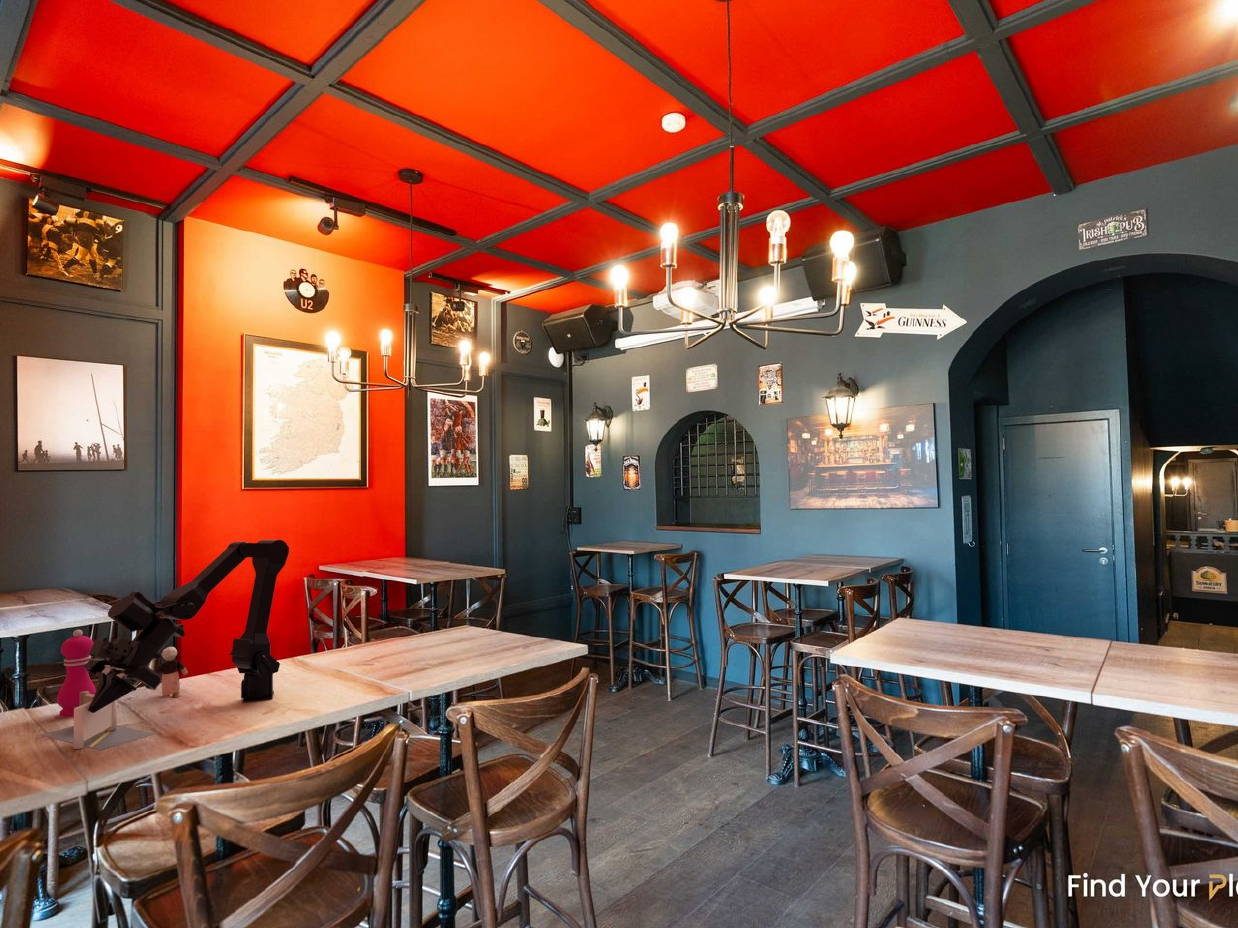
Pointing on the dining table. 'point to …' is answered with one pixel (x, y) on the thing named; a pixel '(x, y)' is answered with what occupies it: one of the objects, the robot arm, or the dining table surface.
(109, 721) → the fence gate
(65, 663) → the pepper mill
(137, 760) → the dining table surface
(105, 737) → the board
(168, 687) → the grandmother figurine
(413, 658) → the dining table surface
